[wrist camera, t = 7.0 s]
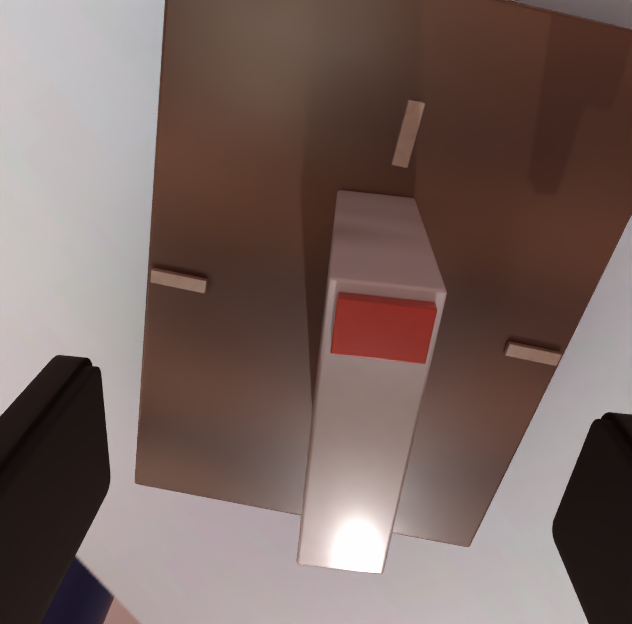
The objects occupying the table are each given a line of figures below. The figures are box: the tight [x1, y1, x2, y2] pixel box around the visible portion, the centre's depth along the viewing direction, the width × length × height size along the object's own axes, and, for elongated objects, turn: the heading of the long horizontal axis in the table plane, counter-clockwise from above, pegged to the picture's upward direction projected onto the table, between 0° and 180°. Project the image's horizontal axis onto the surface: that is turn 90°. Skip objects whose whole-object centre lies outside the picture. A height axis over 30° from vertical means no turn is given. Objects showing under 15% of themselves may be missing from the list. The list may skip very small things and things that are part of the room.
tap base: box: [135, 0, 632, 547], centre depth 16 cm, size 15×11×4 cm
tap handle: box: [297, 190, 447, 574], centre depth 12 cm, size 6×2×5 cm, turn 174°
